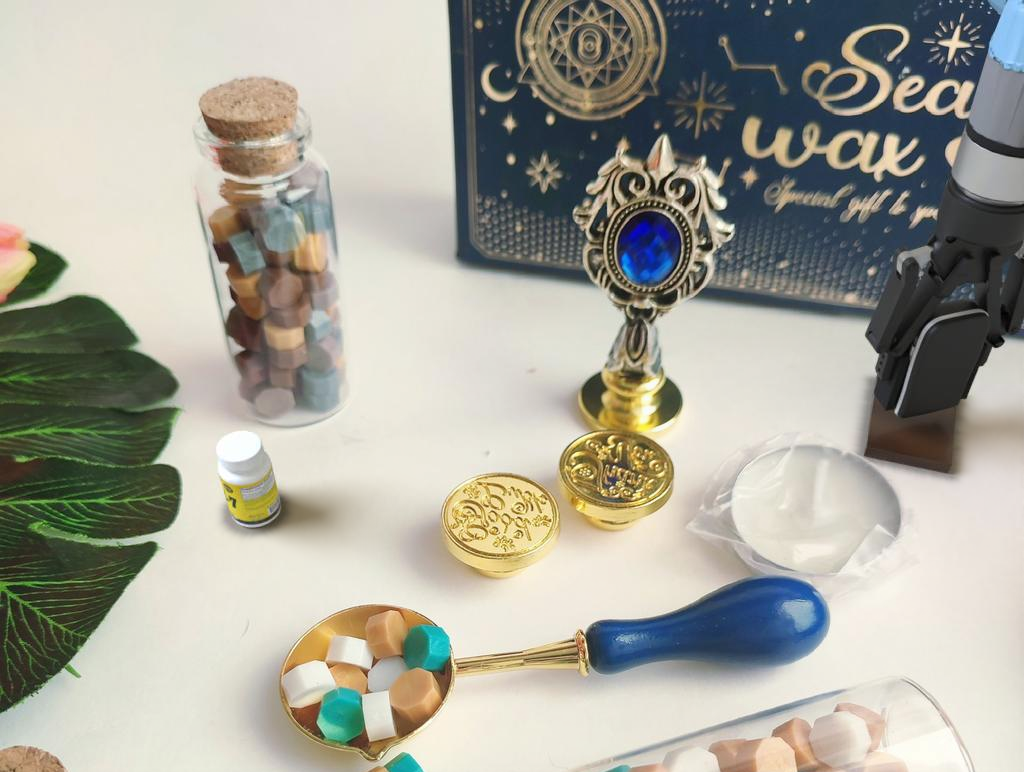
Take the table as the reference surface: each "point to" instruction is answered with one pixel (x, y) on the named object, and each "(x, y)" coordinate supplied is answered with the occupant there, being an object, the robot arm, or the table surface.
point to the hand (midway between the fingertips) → (919, 395)
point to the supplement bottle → (248, 479)
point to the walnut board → (911, 437)
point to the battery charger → (942, 358)
